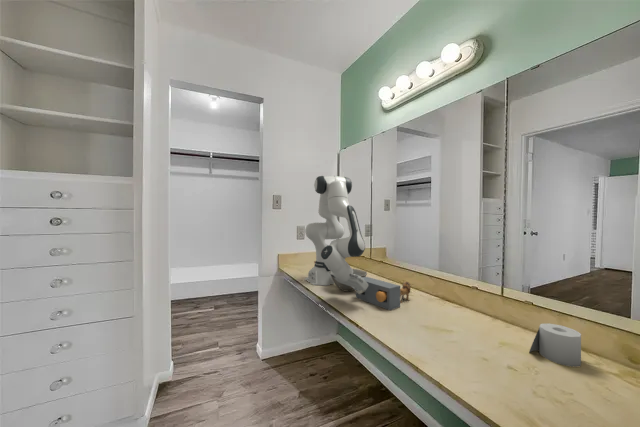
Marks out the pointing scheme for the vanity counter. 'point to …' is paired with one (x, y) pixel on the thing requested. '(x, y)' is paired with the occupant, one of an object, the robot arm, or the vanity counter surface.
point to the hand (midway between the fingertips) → (357, 289)
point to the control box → (379, 285)
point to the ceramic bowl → (346, 287)
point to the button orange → (381, 296)
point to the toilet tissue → (558, 344)
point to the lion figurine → (405, 290)
